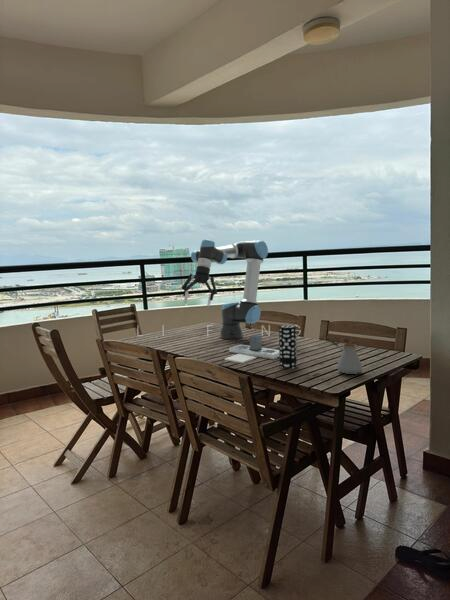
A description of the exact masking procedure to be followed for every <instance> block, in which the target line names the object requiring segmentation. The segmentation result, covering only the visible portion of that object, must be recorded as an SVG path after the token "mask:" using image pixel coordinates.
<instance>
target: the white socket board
mask: <svg viewBox="0 0 450 600" xmlns="http://www.w3.org/2000/svg"><path fill="white" fill-rule="evenodd" d="M228 348H229V349H228V350H229V351H228V352H229V353H233V354H242V355H248V356H254V357H256V358H257V357H258V358H263V359H268V358H269V359H268V360H276V359H278V358H277V357H279V349H273V348H267V347H262V350H259V351H253V350H250V345H246V344H240V343H239V344H236V345H233V346H231V347H228ZM275 358H276V359H275Z"/></svg>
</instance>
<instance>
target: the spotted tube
mask: <svg viewBox="0 0 450 600" xmlns="http://www.w3.org/2000/svg"><path fill="white" fill-rule="evenodd" d="M278 347H279V348H278V350H279V358H278V359H279V368H281V367H283V368H282V369H284V368H292V369H295V368H294V367H296V366H298V365H297V364H298V362H297V361H298V360H297V358H298V357H297V325H294V324H281V325H279V326H278ZM296 368H297V367H296Z"/></svg>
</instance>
